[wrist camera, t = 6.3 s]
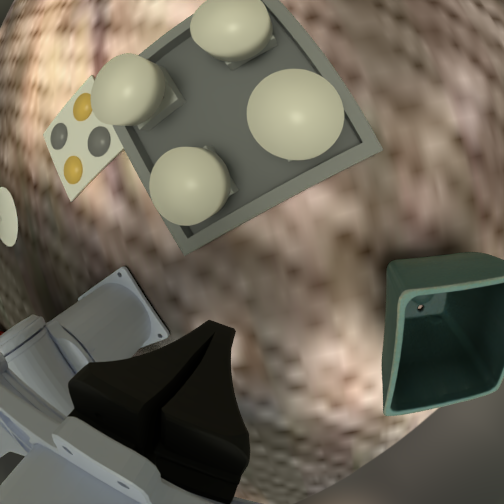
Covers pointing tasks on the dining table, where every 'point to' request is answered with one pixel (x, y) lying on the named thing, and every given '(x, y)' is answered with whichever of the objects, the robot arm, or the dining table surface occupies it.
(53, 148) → the card
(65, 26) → the dining table surface
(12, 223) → the wineglass
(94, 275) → the dining table surface
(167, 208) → the button
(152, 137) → the button board
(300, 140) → the button
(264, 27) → the button
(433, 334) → the flower pot
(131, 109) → the button
